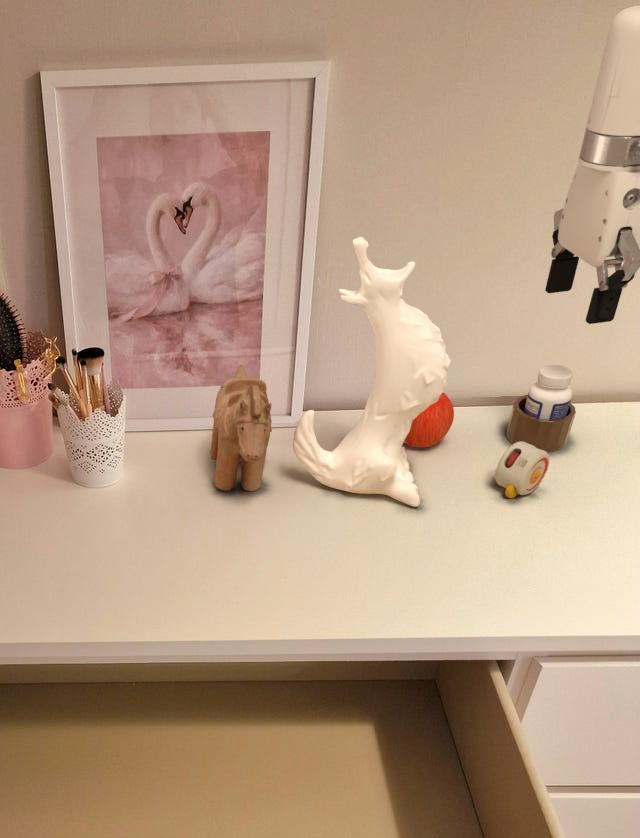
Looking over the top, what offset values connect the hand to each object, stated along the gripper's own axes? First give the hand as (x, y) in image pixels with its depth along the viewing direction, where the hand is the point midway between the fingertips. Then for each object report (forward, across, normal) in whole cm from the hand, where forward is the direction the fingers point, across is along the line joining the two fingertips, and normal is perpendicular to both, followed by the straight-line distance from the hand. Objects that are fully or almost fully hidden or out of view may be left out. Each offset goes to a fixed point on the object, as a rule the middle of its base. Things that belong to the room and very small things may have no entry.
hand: (577, 306), depth 105 cm
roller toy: (+18, -11, +9) cm, 23 cm away
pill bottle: (+17, 0, +1) cm, 17 cm away
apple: (+18, +3, +16) cm, 24 cm away
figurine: (+17, -2, +42) cm, 45 cm away
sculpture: (+17, -6, +28) cm, 33 cm away
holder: (+18, 0, +1) cm, 18 cm away
